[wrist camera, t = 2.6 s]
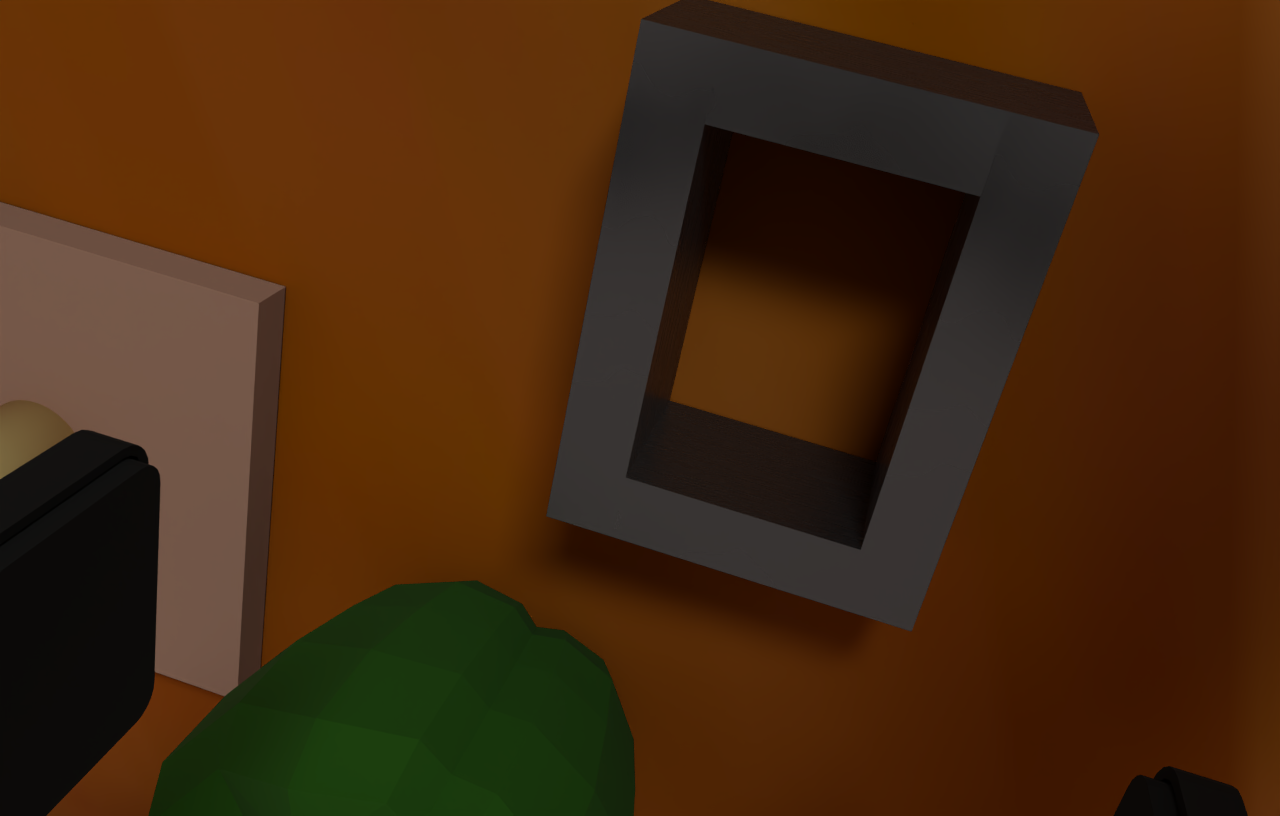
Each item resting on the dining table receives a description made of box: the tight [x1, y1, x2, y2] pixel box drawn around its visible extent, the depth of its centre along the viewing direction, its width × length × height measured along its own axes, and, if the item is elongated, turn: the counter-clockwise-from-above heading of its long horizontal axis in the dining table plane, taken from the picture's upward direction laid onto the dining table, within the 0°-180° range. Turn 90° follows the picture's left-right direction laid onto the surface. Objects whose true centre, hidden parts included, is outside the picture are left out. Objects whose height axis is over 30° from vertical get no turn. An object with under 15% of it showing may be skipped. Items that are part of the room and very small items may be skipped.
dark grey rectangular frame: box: [546, 0, 1099, 631], centre depth 20 cm, size 6×8×3 cm
